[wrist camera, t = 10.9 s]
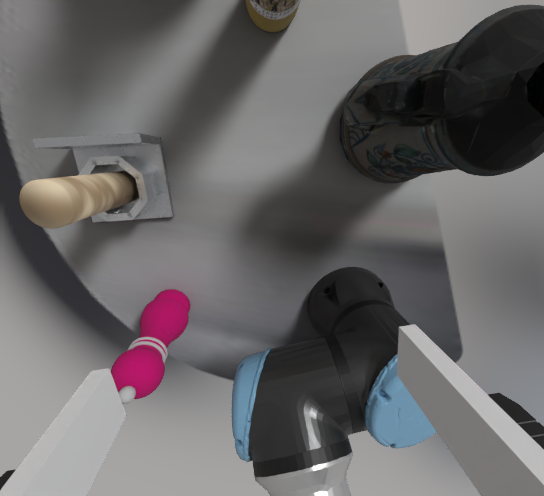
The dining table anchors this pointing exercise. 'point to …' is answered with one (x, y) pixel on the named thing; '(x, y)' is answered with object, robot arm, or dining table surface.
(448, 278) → the dining table surface
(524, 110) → the black tapered vessel
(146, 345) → the pepper mill
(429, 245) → the dining table surface
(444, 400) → the robot arm
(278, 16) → the paper tube
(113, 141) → the cup bracket
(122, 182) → the wooden spindle
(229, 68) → the dining table surface
